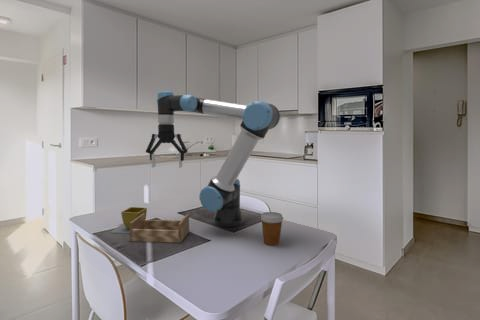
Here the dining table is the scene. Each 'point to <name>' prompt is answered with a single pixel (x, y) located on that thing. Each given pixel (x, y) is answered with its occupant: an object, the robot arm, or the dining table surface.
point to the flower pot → (132, 215)
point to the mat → (121, 230)
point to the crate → (158, 230)
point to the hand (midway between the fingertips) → (167, 167)
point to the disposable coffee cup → (271, 227)
